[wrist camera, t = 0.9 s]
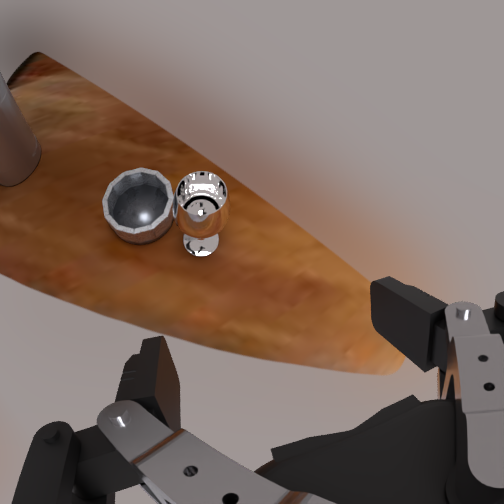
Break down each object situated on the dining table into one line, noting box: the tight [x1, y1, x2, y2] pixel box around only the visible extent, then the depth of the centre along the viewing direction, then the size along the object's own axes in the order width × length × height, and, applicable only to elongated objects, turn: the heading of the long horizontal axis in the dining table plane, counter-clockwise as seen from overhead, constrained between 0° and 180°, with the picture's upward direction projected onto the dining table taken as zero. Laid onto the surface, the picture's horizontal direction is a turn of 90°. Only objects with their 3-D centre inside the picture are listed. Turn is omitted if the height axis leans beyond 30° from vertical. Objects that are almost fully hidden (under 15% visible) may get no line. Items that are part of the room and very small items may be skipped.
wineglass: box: [172, 171, 230, 257], centre depth 34 cm, size 6×6×12 cm
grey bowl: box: [102, 168, 174, 245], centre depth 38 cm, size 9×9×4 cm
